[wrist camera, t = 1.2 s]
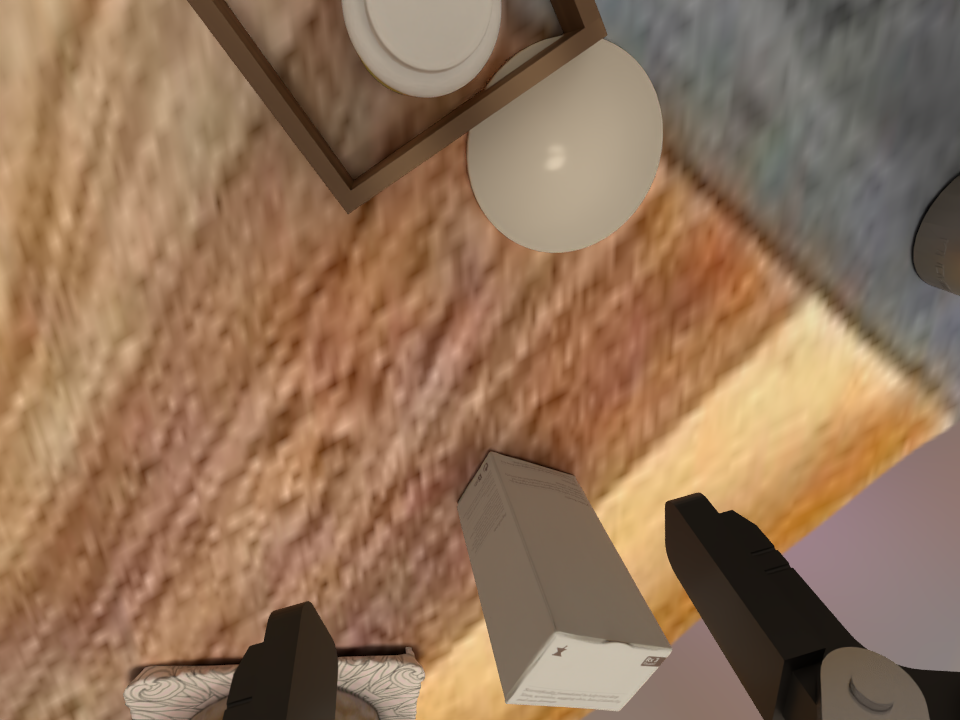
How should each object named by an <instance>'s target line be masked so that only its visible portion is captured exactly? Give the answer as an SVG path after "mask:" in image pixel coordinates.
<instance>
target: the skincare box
mask: <svg viewBox="0 0 960 720" xmlns="http://www.w3.org/2000/svg"><path fill="white" fill-rule="evenodd" d="M457 510H458V514H459V518H460V522H461V526H462V530H463V534H464V538H465V542H466V546H467V550H468V554H469V558H470V562H471V566H472V570H473V574H474V578H475V582H476V586H477V589H478V594H479V598H480V602H481V606H482V610H483V614H484V617H485V621H486V625H487V629H488V633H489V637H490V641H491V645H492V649H493V653H494V657H495V661H496V665H497V669H498V673H499V677H500V681H501V685H502V689H503V693H504V697H505V703H506V704H520V705H541V706H558V707H573V708H588V709H600V710H611V711H620V709H621V708H622V707H623V706H624V705H625V704H626V703H627V702H628V701H629V700H630V699H631V698H632V697H633V696H634V694H635V693H636V692H637V691H638V690H639V689H640V687H641V686H642V685H643V684H644V683H645V682H646V681H647V680H648V678H649V677H650V676H651V675H652V674H653V673H654V672H655V671H656V669H657V668H658V667H659V666H660V665H661V663H662V662H663V661H664V660H665V659H666V658H667V656H669V654H670V653H671V651H672V647H671V646H670V644H669V642H668V640H667V639H666V637H665V635H664V633H663V632H662V630H661V628H660V626H659V624H658V623H657V621H656V619H655V617H654V616H653V614H652V612H651V610H650V609H649V607H648V605H647V603H646V602H645V600H644V598H643V596H642V595H641V593H640V591H639V589H638V588H637V586H636V584H635V582H634V580H633V579H632V577H631V575H630V573H629V572H628V570H627V568H626V566H625V564H624V563H623V561H622V559H621V557H620V556H619V554H618V552H617V550H616V549H615V547H614V545H613V543H612V542H611V540H610V538H609V536H608V534H607V533H606V531H605V529H604V527H603V526H602V524H601V522H600V520H599V518H598V517H597V515H596V513H595V511H594V510H593V508H592V506H591V505H590V503H589V501H588V499H587V497H586V496H585V494H584V492H583V490H582V489H581V487H580V485H579V483H578V481H577V480H576V477H575V476H573V475H570V474H566V473H563V472H559V471H556V470H553V469H549V468H546V467H543V466H539V465H536V464H533V463H529V462H526V461H523V460H519V459H515V458H512V457H508V456H504V455H501V454H498V453H495V452H492V451H491V452H489V454H488V455H487V457H486V458H485V460H484V462H483V464H482V465H481V467H480V469H479V470H478V472H477V473H476V475H475V476H474V478H473V480H472V481H471V482H470V484H469V485H468V487H467V489H466V490H465V492H464V493H463V495H462V497H461V498H460V500H459V502H458V506H457Z"/></svg>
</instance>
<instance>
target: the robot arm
mask: <svg viewBox="0 0 960 720" xmlns="http://www.w3.org/2000/svg"><path fill="white" fill-rule="evenodd" d="M914 265H915V268H916V272H917V273H918V275H919V276H920V278H921V279H922V280H923V281H925V282H926V283H927V284H929V285H931V286H934V287H937V288H940V289H942V290H945V291H948V292H951V293H953V294H956V295H959V296H960V175H959V176H958V177H957V178H955V179H954V180H953V181H952V182H951V183H950V184H949V185H948V186H947V187H946V188H945V189H944V190H943V191H942V192H941V194H940V195H939V196H938V198H937V199H936V200H935V202H934V203H933V204H932V206H931V207H930V209H929V210H928V212H927V214H926V216H925V217H924V219H923V221H922V223H921V226H920V228H919V231H918V233H917V236H916V241H915V245H914ZM665 546H666V552H667V556H668V559H669V562H670V564H671V566H672V569H673V571H674V573H675V574H676V576H677V578H678V579H679V581H680V583H681V584H682V586H683V588H684V589H685V591H686V593H687V594H688V596H689V598H690V599H691V601H692V602H693V604H694V606H695V607H696V609H697V611H698V612H699V614H700V616H701V617H702V619H703V621H704V622H705V624H706V625H707V627H708V629H709V630H710V632H711V634H712V635H713V637H714V639H715V640H716V642H717V643H718V645H719V647H720V648H721V650H722V652H723V653H724V655H725V657H726V658H727V660H728V662H729V663H730V665H731V666H732V668H733V670H734V671H735V673H736V675H737V676H738V678H739V680H740V681H741V683H742V685H743V686H744V688H745V690H746V691H747V693H748V694H749V696H750V698H751V699H752V701H753V703H754V704H755V706H756V708H757V709H758V711H759V713H760V714H761V716H762V717H763V719H764V720H960V672H950V671H949V672H948V671H932V670H919V669H911V668H907V667H903V666H900V665H897V664H895V663H894V662H893V661H891V660H889V659H888V658H886V657H884V656H882V655H880V654H878V653H875V652H873V651H870V650H868V649H866V648H865V647H863V646H862V645H861V644H860V643H859V642H857V641H856V640H855V639H854V638H853V637H852V636H851V635H850V633H849V632H848V631H847V630H846V629H845V628H844V627H843V626H842V624H841V623H840V622H839V621H838V620H837V618H836V617H835V616H834V615H833V614H832V613H831V611H830V610H829V609H828V608H827V607H826V606H825V605H824V603H823V602H822V601H821V600H820V599H819V597H818V596H817V595H816V594H815V593H814V592H813V591H812V589H811V588H810V587H809V586H808V585H807V584H806V582H805V581H804V580H803V579H802V578H801V577H800V575H799V574H798V573H797V572H796V571H795V570H794V568H791V567H790V565H789V563H788V561H787V560H786V559H785V558H784V557H783V556H782V554H781V553H780V552H779V551H778V550H775V548H774V545H773V544H772V543H771V542H770V541H769V539H768V538H767V537H766V536H765V535H764V534H763V532H762V531H761V530H760V529H759V528H758V527H757V525H755V524H754V523H752V522H750V521H749V520H747V519H746V518H744V517H742V516H741V515H739V514H738V513H736V512H735V511H733V510H730V511H726V512H723V513H718V512H717V510H716V509H715V508H714V507H713V505H712V504H711V503H710V502H709V500H708V499H707V498H706V497H705V496H704V495H703V494H701V493H694V494H691V495H687V496H684V497H680V498H677V499H673V500H670V501H667V502H666V504H665ZM337 681H338V657H337V651H336V647H335V644H334V641H333V639H332V637H331V635H330V634H329V632H328V630H327V628H326V627H325V625H324V623H323V622H322V620H321V618H320V616H319V615H318V613H317V611H316V610H315V608H314V606H313V605H312V603H311V602H309V601H307V602H303V603H300V604H296V605H293V606H289V607H286V608H282V609H278V610H275V611H273V612H272V613H271V614H270V616H269V619H268V623H267V628H266V633H265V637H264V642H262V643H259V644H255V645H252V646H249V648H248V650H247V652H246V653H245V655H244V657H243V659H242V660H241V662H240V664H239V666H238V667H237V669H236V671H235V673H234V674H233V678H232V682H231V686H230V690H229V695H228V699H227V703H226V705H227V709H226V710H225V711H224V715H223V719H222V720H335V711H336V696H337Z"/></svg>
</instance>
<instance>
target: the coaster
mask: <svg viewBox="0 0 960 720" xmlns="http://www.w3.org/2000/svg"><path fill="white" fill-rule="evenodd" d="M562 36H564V35H561V36H557V37H553V38H549V39H545V40H542V41H539V42H537V43H535V44H532V45H530V46H528V47H527V48H525V49H523V50H522V51H520V52H518V53H517V54H515V55H514V56H513V57H512V58H511V59H509V60H508V61H507V62H506V63H505V64H504V65H503V66H502V67H501V68H500V69H499V70H498V71H497V72H496V73H495V74H494V76H493V77H492V78H491V80H490V81H489V82H488V84H487V85H486V87H485V89H484V90H486V89H488V88H489V87H491V86H492V85H493V84H495V83H496V82H498V81H499V80H501V79H502V78H503V77H505V76H506V75H508V74H509V73H511V72H512V71H513V70H515V69H516V68H518V67H519V66H521V65H522V64H523V63H525V62H526V61H528V60H529V59H531V58H532V57H533V56H535V55H536V54H538V53H539V52H541V51H542V50H544V49H545V48H546V47H548V46H549V45H551V44H552V43H554V42H555V41H556V40H558V39H559V38H561V37H562ZM662 141H663V122H662V115H661V109H660V105H659V101H658V98H657V94H656V92H655V90H654V87H653V85H652V83H651V81H650V79H649V78H648V76H647V74H646V73H645V71H644V70H643V68H642V67H641V66H640V65H639V64H638V62H637V61H636V60H635V59H634V58H633V57H632V56H631V55H629V54H628V53H627V52H626V51H625V50H623V49H622V48H620V47H618V46H617V45H615V44H613V43H611V42H609V41H606V40H604V39H601V40H600V41H598V42H597V43H595V44H594V45H592V46H591V47H590V48H588V49H587V50H585V51H584V52H582V53H581V54H579V55H578V56H577V57H575V58H574V59H572V60H571V61H569V62H568V63H566V64H565V65H563V66H562V67H561V68H559V69H558V70H556V71H555V72H553V73H552V74H550V75H549V76H548V77H546V78H545V79H543V80H542V81H540V82H539V83H537V84H536V85H534V86H533V87H532V88H530V89H529V90H527V91H526V92H524V93H523V94H521V95H520V96H519V97H517V98H516V99H514V100H513V101H511V102H510V103H508V104H507V105H506V106H504V107H503V108H501V109H500V110H498V111H497V112H495V113H494V114H492V115H491V116H490V117H488V118H487V119H485V120H484V121H482V122H481V123H479V124H478V125H477V126H475V127H474V128H472V129H471V130H469V131H468V137H467V146H466V160H467V171H468V176H469V180H470V185H471V187H472V190H473V193H474V196H475V198H476V200H477V202H478V204H479V206H480V208H481V209H482V211H483V212H484V214H485V215H486V217H487V218H488V219H489V221H490V222H491V223H492V224H493V225H494V226H495V227H496V228H497V229H498V230H499V231H500V232H501V233H502V234H504V235H505V236H506V237H507V238H509V239H511V240H512V241H514V242H515V243H517V244H519V245H522V246H524V247H526V248H529V249H533V250H536V251H541V252H549V253H563V252H570V251H575V250H579V249H583V248H586V247H588V246H591V245H593V244H595V243H597V242H599V241H601V240H603V239H605V238H606V237H608V236H609V235H611V234H612V233H613V232H615V231H616V230H617V229H619V228H620V227H621V226H622V225H623V224H624V223H625V222H626V221H627V220H628V219H629V218H630V217H631V216H632V215H633V213H634V212H635V211H636V210H637V208H638V207H639V205H640V204H641V203H642V201H643V200H644V198H645V196H646V194H647V193H648V191H649V189H650V187H651V184H652V182H653V180H654V177H655V175H656V171H657V168H658V165H659V161H660V156H661V151H662Z"/></svg>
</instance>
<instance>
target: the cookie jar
mask: <svg viewBox="0 0 960 720" xmlns="http://www.w3.org/2000/svg"><path fill="white" fill-rule="evenodd" d="M405 649H406V654H402V655H386V656H351V657H338V681H337V696H336V711H335V720H415V719H416V718H415V716H416V713H417V712H416V703H417V698H418V696H419V690H420V688H421V682H422V681H423V680H424V678H425V672H424V669H423V667H422V666H421V665H420V664H419V663H418V662H417V661H416V660H415V654H414V652H413V651H412V647H406V648H405ZM238 666H239V664H238V665H216V666H148V667H145V668H144V669H143V670H142V672H141V673H140V674H139V675H138V676H137V677H136V678H135V679H134V680H133V681H132V682H131V683H130V684H129V685H128V686H127V688H126V689H125V691H124V693H123V696H124V700H125V701H126V702H125V705H126V706H127V707H129V708H130V712H131V715H132V720H222V719H223V715H224V711H225V710H226V709H227V705H226V703H227V699H228V695H229V690H230V686H231V682H232V678H233V674H234V673H235V671H236V669H237V667H238Z"/></svg>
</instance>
